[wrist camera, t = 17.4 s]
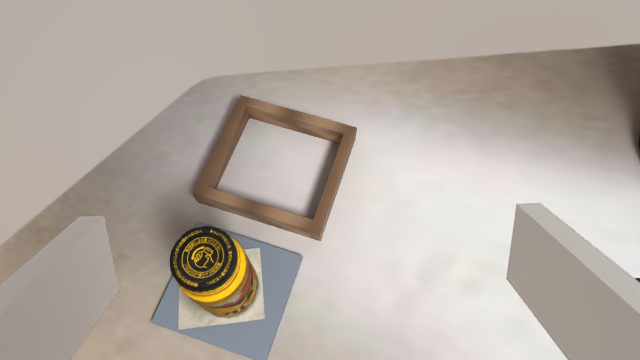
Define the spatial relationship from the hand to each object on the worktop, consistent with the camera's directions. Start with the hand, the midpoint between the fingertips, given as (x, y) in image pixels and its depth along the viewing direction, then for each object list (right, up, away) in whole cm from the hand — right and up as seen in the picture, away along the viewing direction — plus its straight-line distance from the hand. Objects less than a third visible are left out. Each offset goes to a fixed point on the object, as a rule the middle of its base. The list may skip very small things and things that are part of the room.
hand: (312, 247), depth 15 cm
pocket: (-4, +3, +38) cm, 38 cm away
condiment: (-10, -9, +31) cm, 34 cm away
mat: (-9, -9, +32) cm, 34 cm away
